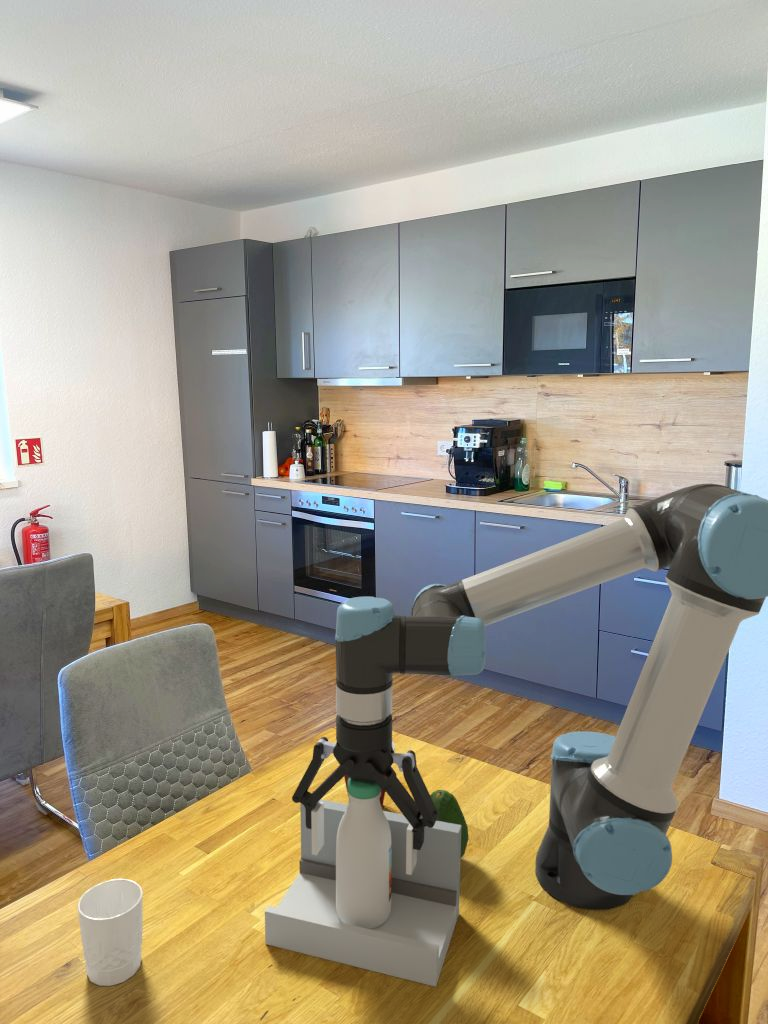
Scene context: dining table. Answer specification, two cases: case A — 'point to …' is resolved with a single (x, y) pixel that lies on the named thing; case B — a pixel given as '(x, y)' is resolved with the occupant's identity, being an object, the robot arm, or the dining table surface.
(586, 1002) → the dining table surface
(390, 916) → the board
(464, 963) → the dining table surface
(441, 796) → the avocado
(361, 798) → the milk bottle
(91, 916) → the white cup
